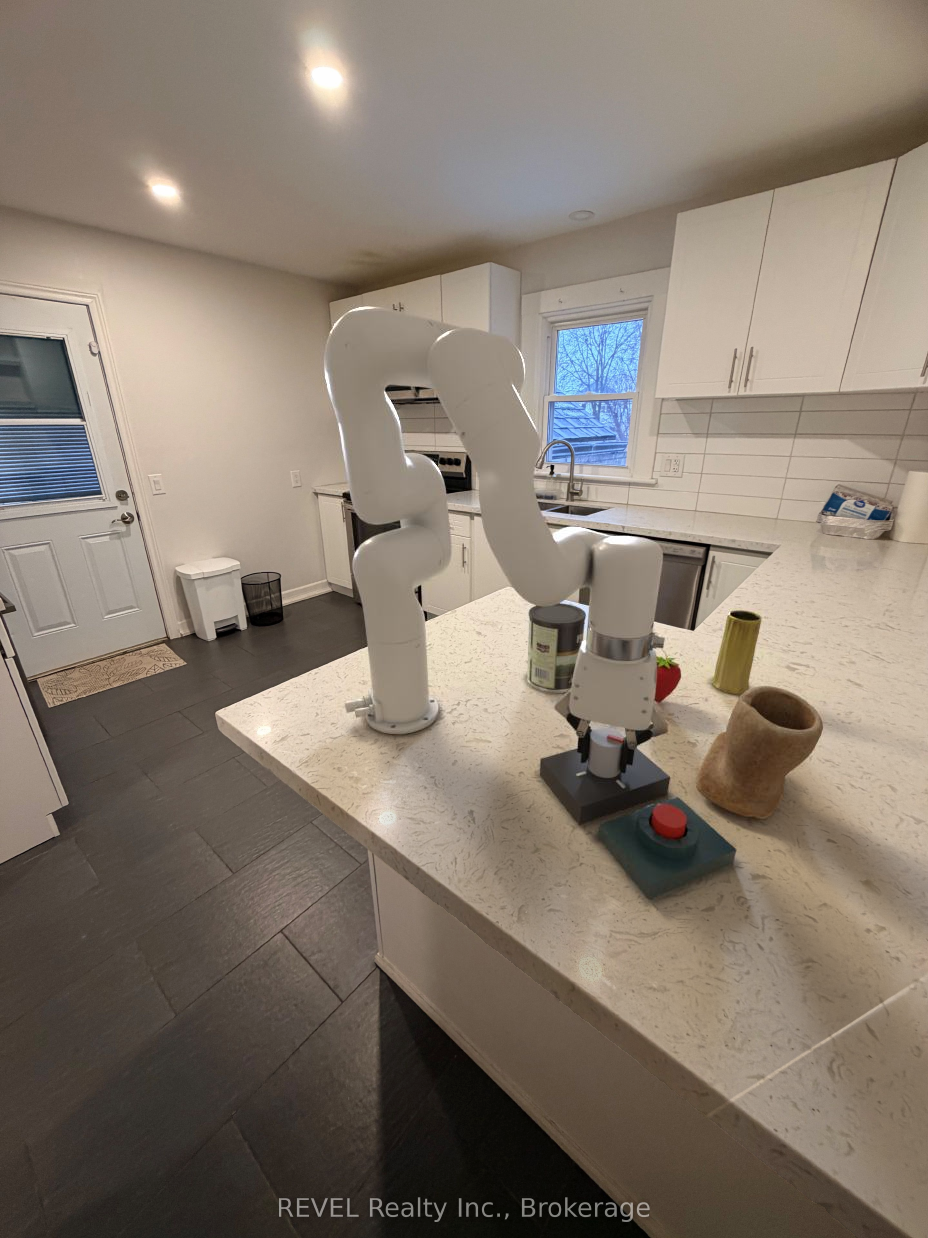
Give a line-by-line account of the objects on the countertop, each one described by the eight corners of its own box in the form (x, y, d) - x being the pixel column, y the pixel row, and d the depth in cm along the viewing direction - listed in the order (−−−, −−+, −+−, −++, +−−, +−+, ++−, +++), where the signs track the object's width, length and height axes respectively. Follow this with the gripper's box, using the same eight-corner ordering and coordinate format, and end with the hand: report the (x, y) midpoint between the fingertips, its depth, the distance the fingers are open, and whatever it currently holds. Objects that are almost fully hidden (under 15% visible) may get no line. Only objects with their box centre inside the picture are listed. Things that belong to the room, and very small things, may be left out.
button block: (648, 900, 52) (653, 872, 51) (597, 837, 60) (600, 812, 59) (733, 863, 56) (740, 837, 55) (675, 809, 64) (680, 785, 63)
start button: (666, 843, 55) (668, 831, 54) (644, 820, 58) (646, 809, 57) (691, 833, 56) (694, 822, 55) (668, 811, 59) (670, 800, 58)
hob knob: (582, 771, 67) (585, 738, 65) (593, 753, 70) (596, 721, 68) (615, 782, 65) (619, 749, 63) (624, 763, 68) (628, 731, 66)
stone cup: (787, 844, 59) (820, 739, 53) (684, 798, 66) (703, 702, 60) (806, 776, 69) (836, 683, 64) (716, 743, 76) (735, 657, 71)
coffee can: (579, 669, 99) (585, 603, 94) (580, 696, 90) (586, 625, 85) (528, 665, 101) (530, 600, 96) (523, 691, 92) (526, 621, 87)
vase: (747, 681, 94) (763, 611, 88) (749, 697, 89) (766, 624, 83) (711, 675, 96) (725, 607, 91) (711, 690, 91) (725, 619, 85)
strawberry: (630, 702, 88) (637, 651, 84) (654, 688, 92) (661, 639, 88) (660, 716, 84) (669, 664, 80) (684, 701, 88) (693, 650, 84)
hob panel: (579, 825, 62) (580, 806, 61) (539, 775, 70) (540, 757, 69) (667, 795, 67) (670, 776, 65) (620, 751, 75) (622, 734, 74)
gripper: (694, 638, 60) (672, 760, 67) (556, 619, 66) (550, 732, 73) (693, 665, 54) (669, 797, 61) (542, 641, 60) (536, 763, 67)
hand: (604, 760), depth 67 cm, fingers closed on hob knob, 4 cm apart
